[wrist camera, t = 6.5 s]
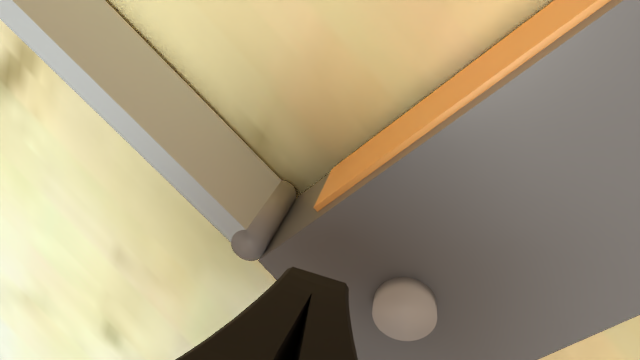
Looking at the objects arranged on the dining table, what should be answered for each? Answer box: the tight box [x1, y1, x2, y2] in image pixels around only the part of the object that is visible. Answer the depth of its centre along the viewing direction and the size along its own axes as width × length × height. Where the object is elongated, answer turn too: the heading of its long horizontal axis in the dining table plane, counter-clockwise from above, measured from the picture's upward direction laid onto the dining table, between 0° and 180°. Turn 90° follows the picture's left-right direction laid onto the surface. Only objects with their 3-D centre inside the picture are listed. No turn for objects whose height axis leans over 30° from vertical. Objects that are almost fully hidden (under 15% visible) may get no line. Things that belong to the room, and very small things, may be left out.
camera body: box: [258, 0, 640, 360], centre depth 15 cm, size 15×8×6 cm, turn 132°
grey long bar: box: [0, 0, 296, 261], centre depth 17 cm, size 14×2×4 cm, turn 44°
